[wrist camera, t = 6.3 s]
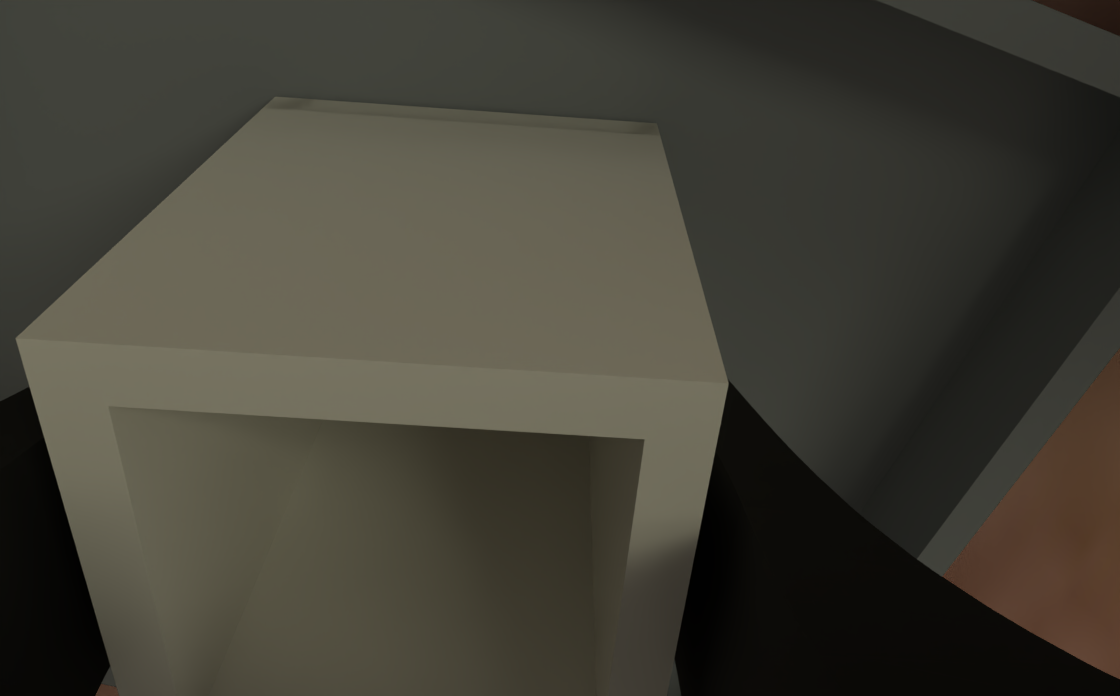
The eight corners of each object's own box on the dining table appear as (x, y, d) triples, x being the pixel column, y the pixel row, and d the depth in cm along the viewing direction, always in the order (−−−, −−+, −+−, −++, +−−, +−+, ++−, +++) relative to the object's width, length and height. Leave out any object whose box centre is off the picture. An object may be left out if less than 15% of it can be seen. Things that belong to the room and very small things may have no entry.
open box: (656, 123, 13) (728, 383, 7) (618, 430, 16) (645, 800, 10) (274, 96, 13) (14, 337, 7) (305, 410, 16) (142, 774, 10)
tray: (1162, 58, 14) (1302, 111, 11) (724, 707, 21) (745, 829, 19) (-82, -452, 11) (-290, -542, 8) (-70, 509, 18) (-175, 621, 16)
